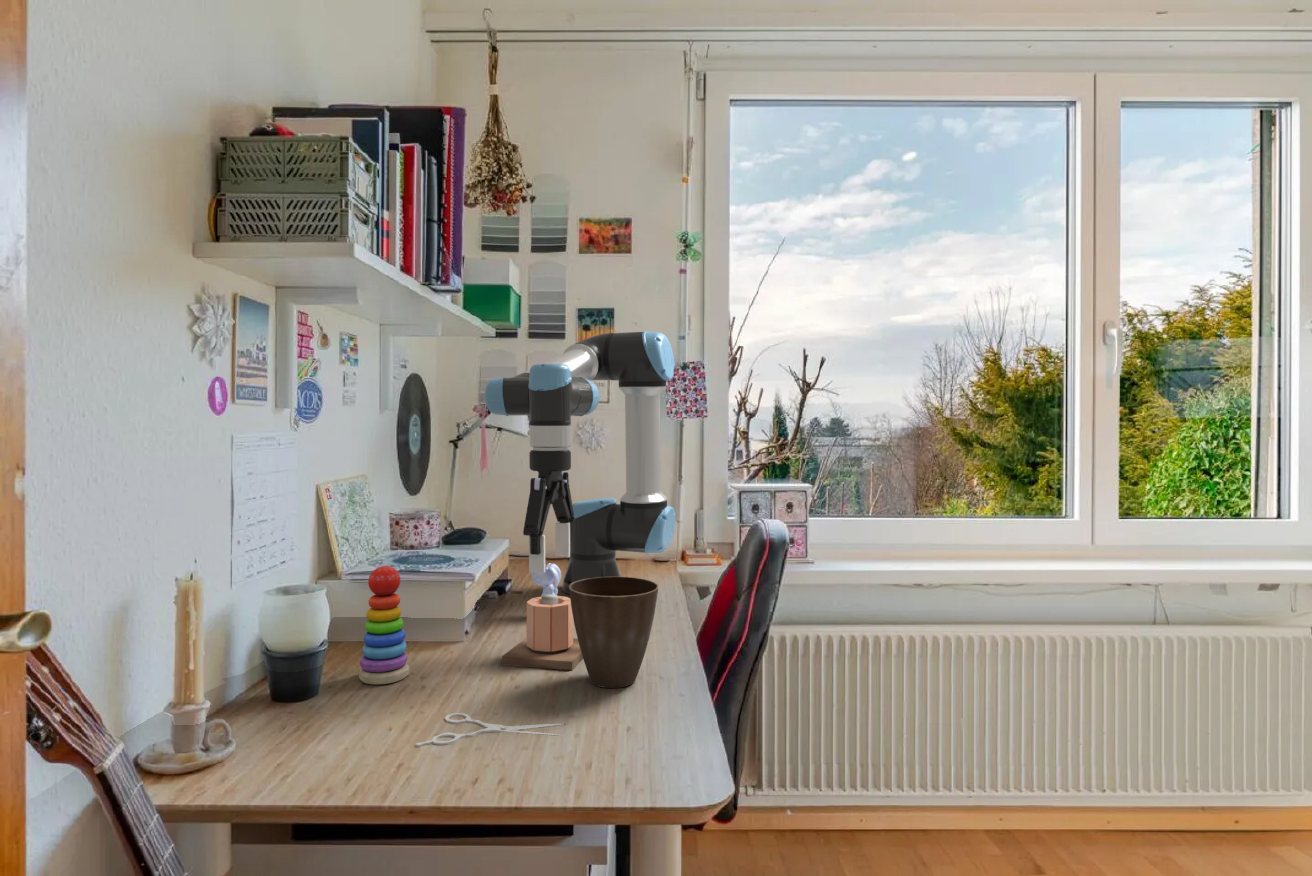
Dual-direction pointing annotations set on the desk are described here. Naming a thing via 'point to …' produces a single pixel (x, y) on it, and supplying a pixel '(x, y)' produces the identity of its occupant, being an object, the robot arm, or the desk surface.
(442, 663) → the desk surface
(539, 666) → the post stand
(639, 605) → the plant pot
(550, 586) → the toy figurine
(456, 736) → the scissors
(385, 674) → the stacking toy
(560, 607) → the ring
